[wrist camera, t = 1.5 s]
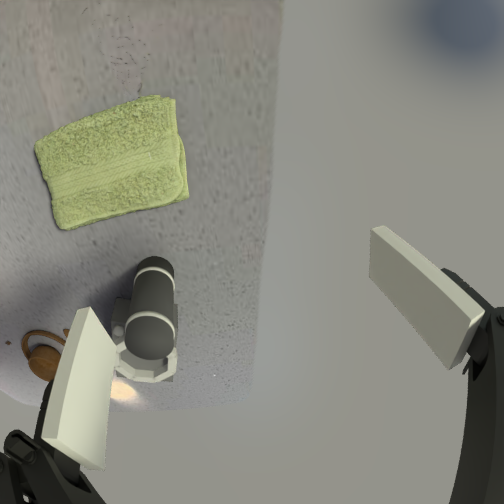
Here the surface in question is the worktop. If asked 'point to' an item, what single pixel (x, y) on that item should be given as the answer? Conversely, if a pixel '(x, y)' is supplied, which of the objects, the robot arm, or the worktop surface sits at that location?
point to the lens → (151, 311)
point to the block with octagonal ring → (132, 364)
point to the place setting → (43, 355)
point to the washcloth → (114, 162)
